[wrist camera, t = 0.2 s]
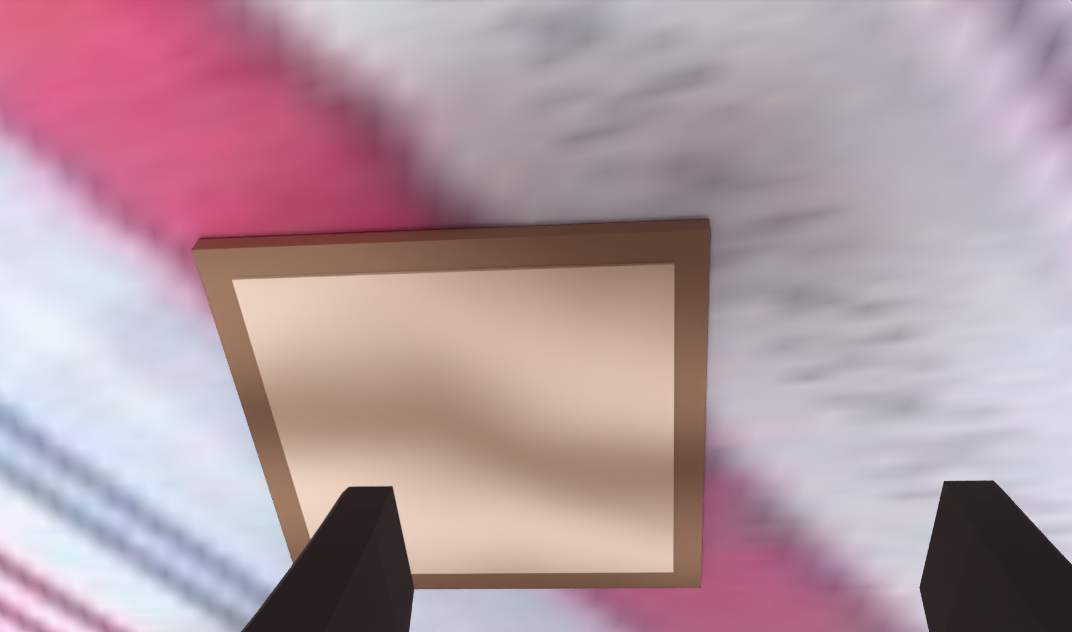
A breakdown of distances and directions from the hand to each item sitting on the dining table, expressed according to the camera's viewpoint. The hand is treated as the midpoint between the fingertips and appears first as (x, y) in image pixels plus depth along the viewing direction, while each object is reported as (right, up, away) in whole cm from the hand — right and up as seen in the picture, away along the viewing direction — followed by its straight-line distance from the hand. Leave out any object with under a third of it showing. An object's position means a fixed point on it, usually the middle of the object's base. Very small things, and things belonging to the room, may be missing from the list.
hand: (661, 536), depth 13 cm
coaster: (-3, 0, +13) cm, 13 cm away
